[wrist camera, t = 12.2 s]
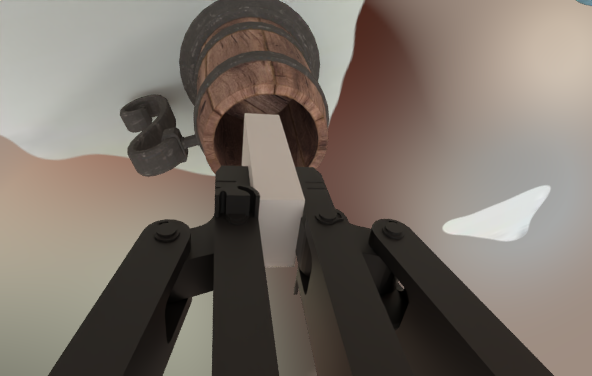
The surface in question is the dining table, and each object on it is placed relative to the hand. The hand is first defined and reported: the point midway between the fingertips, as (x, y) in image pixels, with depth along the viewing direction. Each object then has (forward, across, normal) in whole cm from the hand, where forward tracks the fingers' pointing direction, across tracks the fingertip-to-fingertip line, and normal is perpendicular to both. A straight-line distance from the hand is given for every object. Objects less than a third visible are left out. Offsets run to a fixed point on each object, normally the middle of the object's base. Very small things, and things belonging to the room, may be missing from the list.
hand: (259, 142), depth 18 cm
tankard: (+33, -1, -8) cm, 34 cm away
